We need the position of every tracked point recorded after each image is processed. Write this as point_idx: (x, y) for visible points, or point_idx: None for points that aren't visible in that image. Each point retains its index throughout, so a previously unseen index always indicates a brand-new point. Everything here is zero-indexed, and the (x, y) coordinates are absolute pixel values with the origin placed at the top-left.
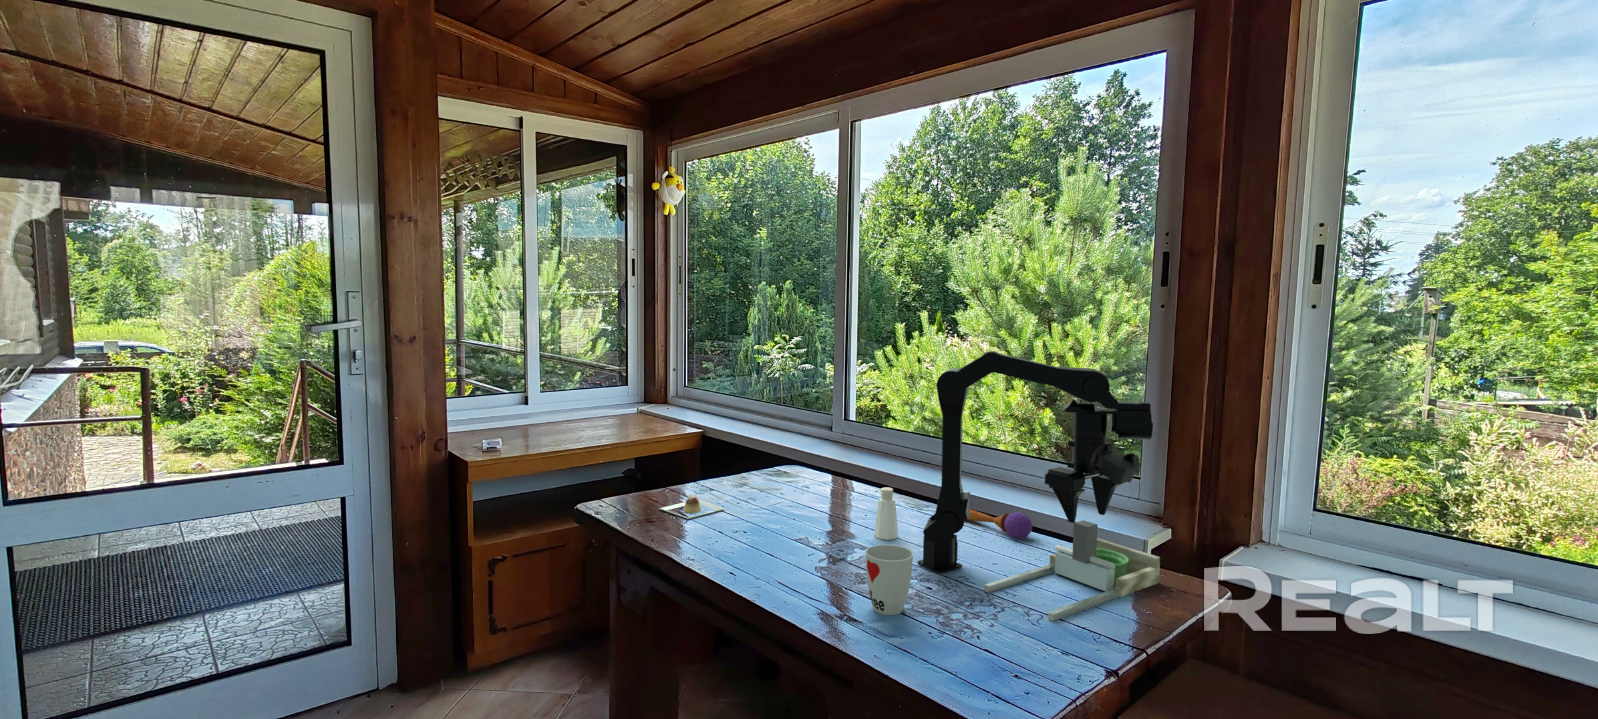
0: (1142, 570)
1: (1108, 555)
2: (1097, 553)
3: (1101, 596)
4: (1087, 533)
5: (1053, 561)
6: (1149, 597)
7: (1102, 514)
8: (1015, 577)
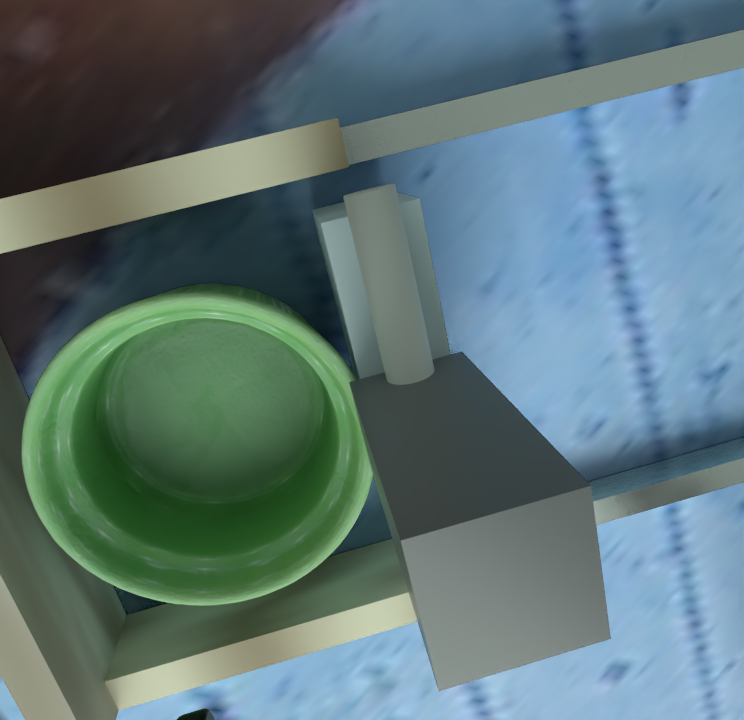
0: (28, 230)
1: (96, 518)
2: (155, 559)
3: (525, 86)
4: (555, 450)
5: None
6: (153, 49)
7: (213, 717)
8: (736, 464)
